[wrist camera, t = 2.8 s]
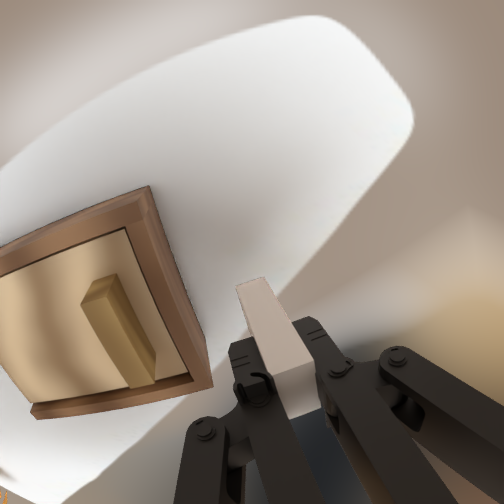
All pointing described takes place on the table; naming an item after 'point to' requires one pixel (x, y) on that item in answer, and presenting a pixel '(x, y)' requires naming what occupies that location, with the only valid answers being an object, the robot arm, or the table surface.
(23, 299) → the cover plate
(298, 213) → the table surface
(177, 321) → the walnut box
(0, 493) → the giraffe
